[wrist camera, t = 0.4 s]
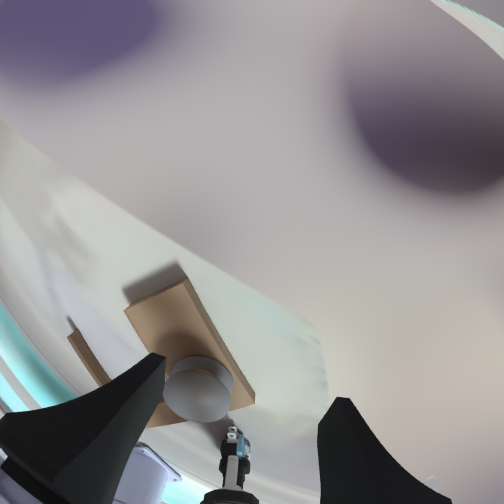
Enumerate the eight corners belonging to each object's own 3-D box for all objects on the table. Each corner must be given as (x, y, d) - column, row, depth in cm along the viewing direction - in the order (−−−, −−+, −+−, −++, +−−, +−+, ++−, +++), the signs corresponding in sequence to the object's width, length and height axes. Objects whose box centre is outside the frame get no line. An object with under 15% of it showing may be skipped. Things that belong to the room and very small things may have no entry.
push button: (207, 421, 23) (188, 500, 13) (260, 422, 23) (259, 504, 13) (215, 457, 24) (203, 525, 14) (262, 458, 24) (261, 528, 14)
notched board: (139, 421, 23) (126, 445, 19) (74, 331, 22) (51, 348, 18) (255, 393, 22) (254, 424, 18) (188, 277, 20) (171, 294, 16)
